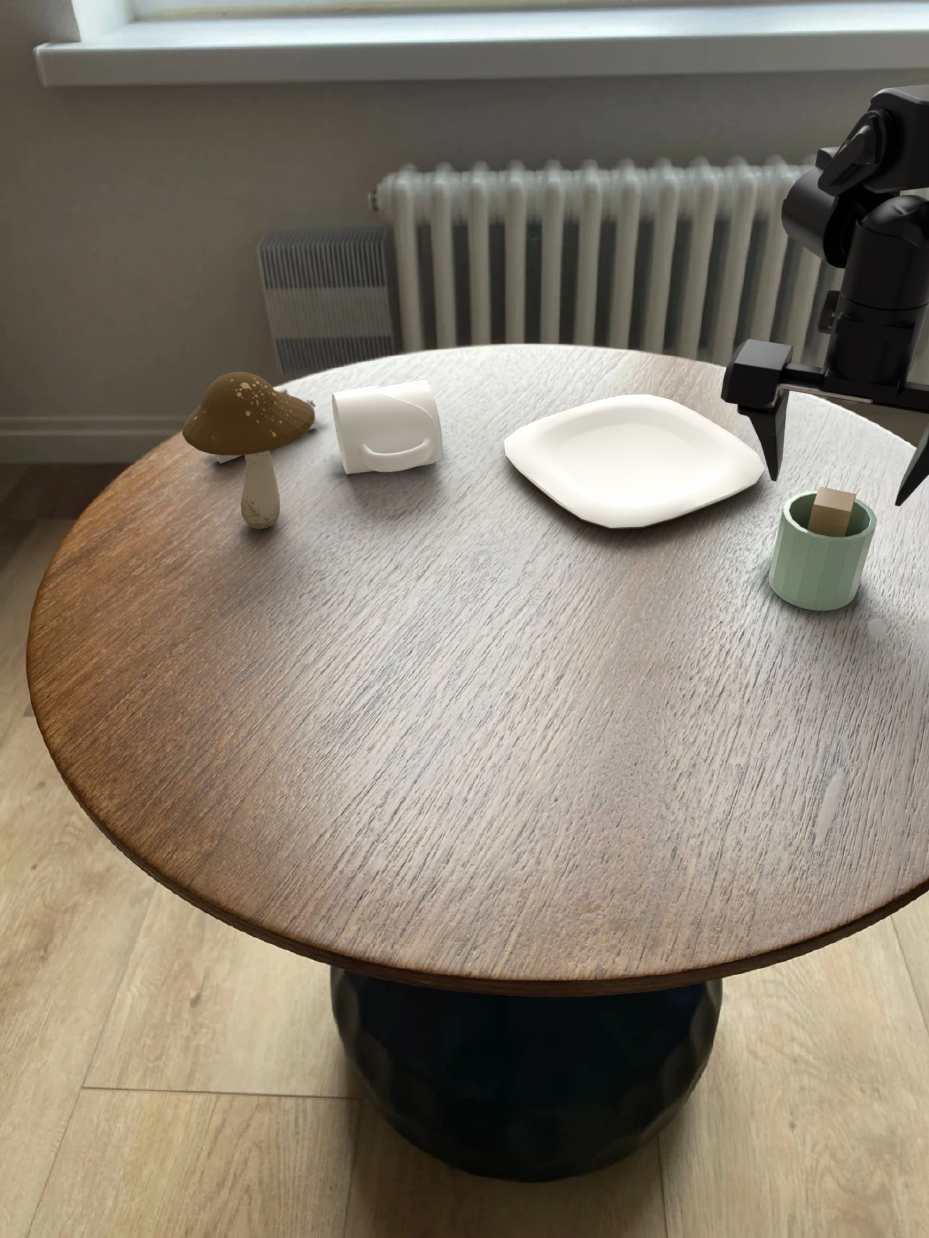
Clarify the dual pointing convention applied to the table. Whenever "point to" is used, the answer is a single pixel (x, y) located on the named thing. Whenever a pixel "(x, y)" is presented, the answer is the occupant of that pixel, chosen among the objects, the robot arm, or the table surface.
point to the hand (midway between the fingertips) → (835, 490)
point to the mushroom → (249, 435)
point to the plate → (632, 461)
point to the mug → (387, 427)
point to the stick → (831, 512)
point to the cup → (819, 556)
